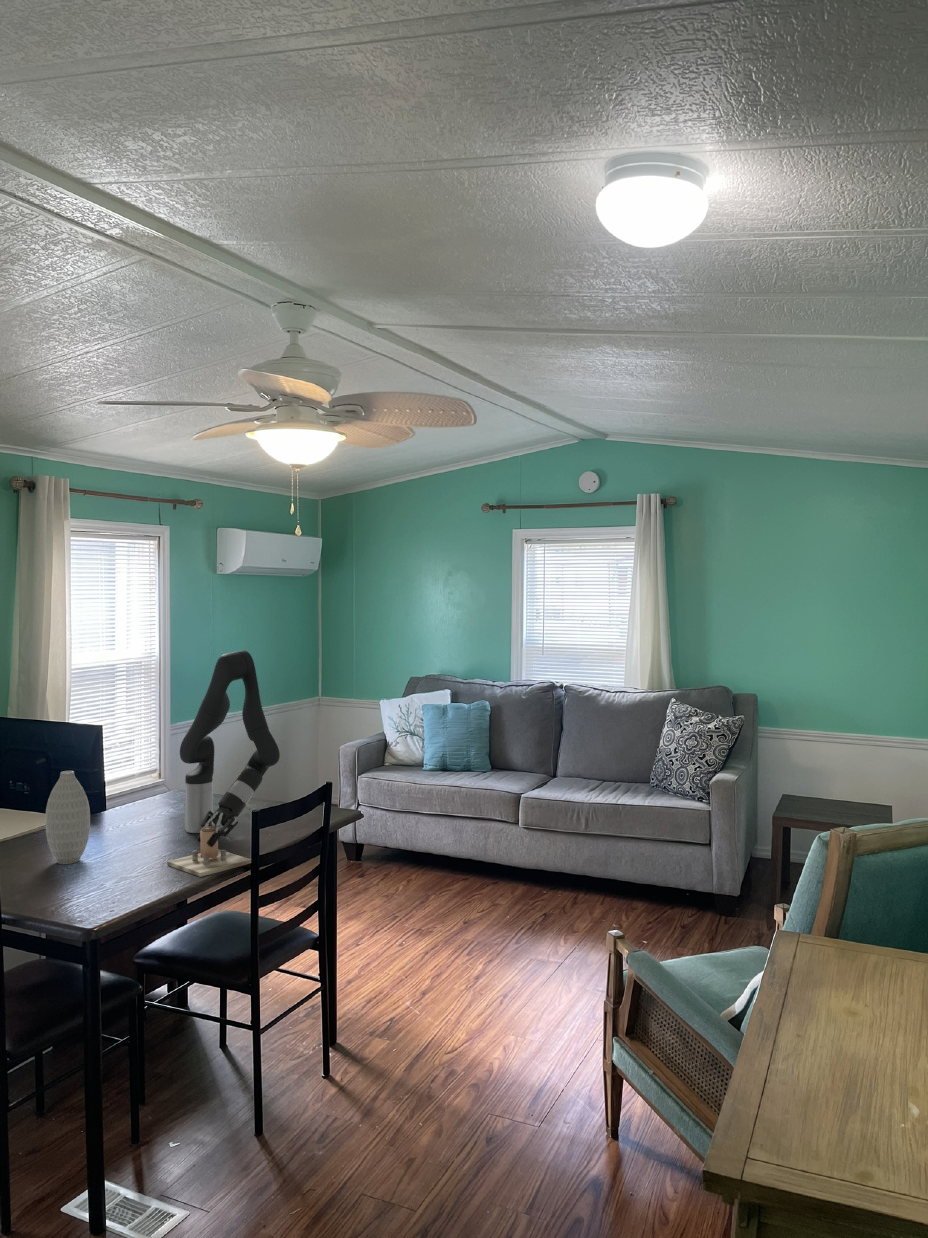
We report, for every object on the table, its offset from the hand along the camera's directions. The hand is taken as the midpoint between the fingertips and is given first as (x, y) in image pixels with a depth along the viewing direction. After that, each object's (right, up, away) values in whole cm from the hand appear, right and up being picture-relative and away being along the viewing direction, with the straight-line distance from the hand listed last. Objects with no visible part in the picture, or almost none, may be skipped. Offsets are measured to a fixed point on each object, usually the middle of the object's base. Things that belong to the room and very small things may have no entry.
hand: (204, 843), depth 278 cm
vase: (-44, -7, +5) cm, 45 cm away
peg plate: (+1, -7, +2) cm, 7 cm away
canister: (+1, -4, +2) cm, 5 cm away
